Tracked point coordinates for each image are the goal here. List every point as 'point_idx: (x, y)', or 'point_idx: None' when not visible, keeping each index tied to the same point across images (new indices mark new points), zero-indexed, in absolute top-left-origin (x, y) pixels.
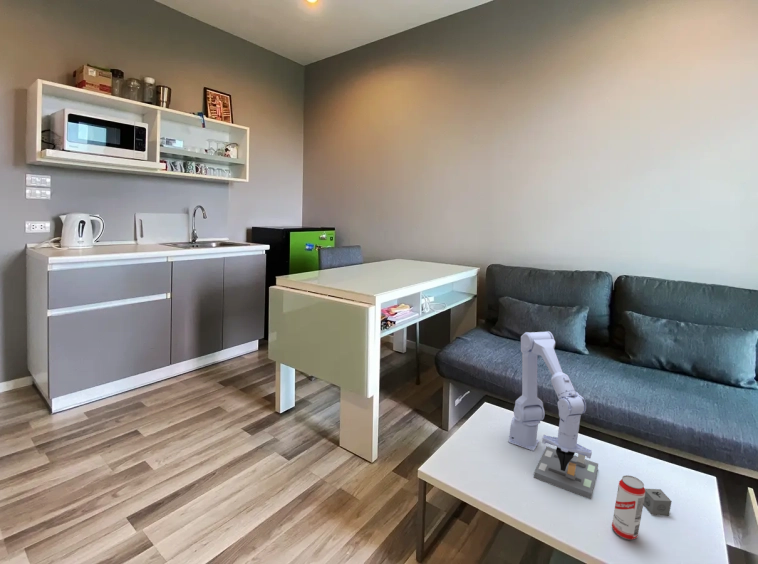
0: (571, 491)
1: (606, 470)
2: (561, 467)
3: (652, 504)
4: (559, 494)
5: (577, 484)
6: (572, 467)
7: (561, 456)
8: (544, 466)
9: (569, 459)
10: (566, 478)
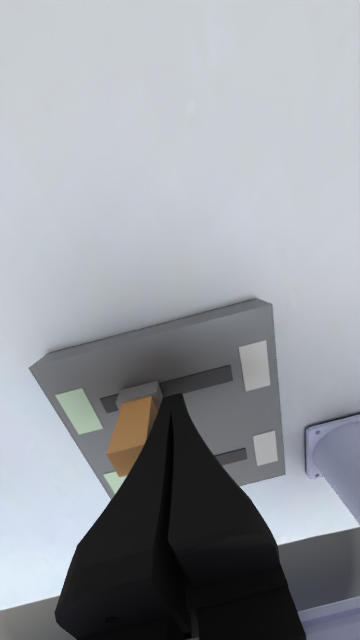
0: (114, 336)
1: (107, 501)
2: (178, 403)
3: None
4: (135, 282)
5: (99, 375)
6: (123, 441)
7: (190, 488)
8: (250, 373)
9: (115, 504)
10: (150, 375)
